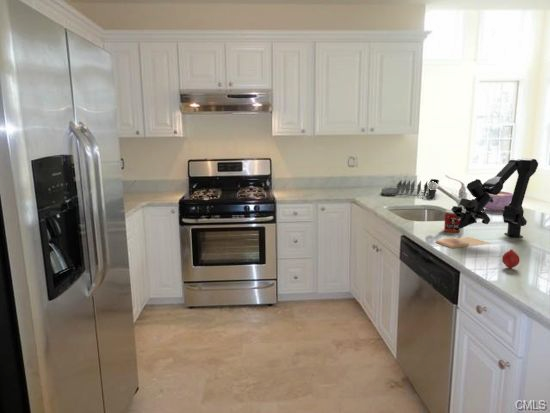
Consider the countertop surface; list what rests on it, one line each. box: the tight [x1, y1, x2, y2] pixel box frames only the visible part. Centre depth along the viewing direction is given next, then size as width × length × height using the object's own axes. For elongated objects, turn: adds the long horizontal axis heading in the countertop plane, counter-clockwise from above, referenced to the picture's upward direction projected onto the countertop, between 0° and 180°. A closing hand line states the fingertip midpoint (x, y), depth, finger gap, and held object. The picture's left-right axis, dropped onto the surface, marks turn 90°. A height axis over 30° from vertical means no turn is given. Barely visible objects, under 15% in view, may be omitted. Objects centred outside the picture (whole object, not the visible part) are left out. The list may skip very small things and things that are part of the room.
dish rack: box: [380, 178, 440, 199], centre depth 326 cm, size 34×44×12 cm
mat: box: [456, 236, 490, 247], centre depth 189 cm, size 12×12×1 cm
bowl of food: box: [484, 190, 514, 212], centre depth 260 cm, size 20×20×12 cm
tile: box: [435, 237, 469, 249], centre depth 185 cm, size 2×10×10 cm
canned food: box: [443, 209, 461, 233], centre depth 208 cm, size 8×8×11 cm
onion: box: [501, 248, 520, 269], centre depth 152 cm, size 6×6×8 cm
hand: (459, 228), depth 184 cm, fingers closed
